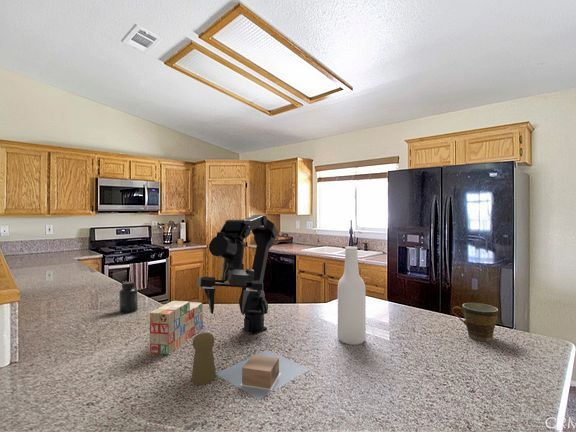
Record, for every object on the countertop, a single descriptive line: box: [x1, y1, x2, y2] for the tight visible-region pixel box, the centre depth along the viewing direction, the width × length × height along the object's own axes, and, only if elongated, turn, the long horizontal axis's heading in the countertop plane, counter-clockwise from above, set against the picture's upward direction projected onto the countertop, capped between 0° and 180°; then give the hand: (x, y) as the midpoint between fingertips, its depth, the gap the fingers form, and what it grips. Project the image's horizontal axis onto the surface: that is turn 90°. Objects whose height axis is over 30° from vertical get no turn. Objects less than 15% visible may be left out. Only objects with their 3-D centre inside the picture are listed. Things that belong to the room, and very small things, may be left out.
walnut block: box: [242, 354, 279, 389], centre depth 75 cm, size 7×7×4 cm
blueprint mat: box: [216, 349, 310, 400], centre depth 79 cm, size 18×16×1 cm
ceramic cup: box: [451, 302, 499, 343], centre depth 101 cm, size 13×10×10 cm
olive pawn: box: [190, 332, 217, 386], centre depth 76 cm, size 6×6×11 cm
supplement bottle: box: [118, 281, 139, 314], centre depth 130 cm, size 7×7×12 cm
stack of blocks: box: [149, 300, 204, 356], centre depth 100 cm, size 21×6×12 cm, turn 169°
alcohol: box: [337, 245, 367, 346], centre depth 99 cm, size 9×9×30 cm
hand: (227, 314), depth 89 cm, fingers open, 9 cm apart
